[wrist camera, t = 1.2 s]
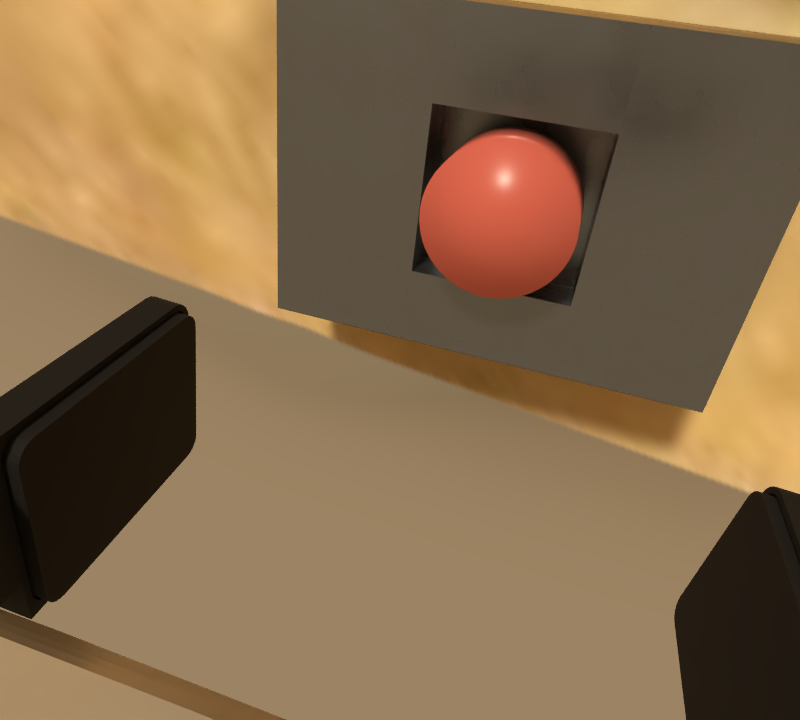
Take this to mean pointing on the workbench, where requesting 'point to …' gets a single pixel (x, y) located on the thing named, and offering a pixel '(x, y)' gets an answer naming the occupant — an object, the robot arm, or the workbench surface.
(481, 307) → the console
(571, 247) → the button
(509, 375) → the workbench surface
